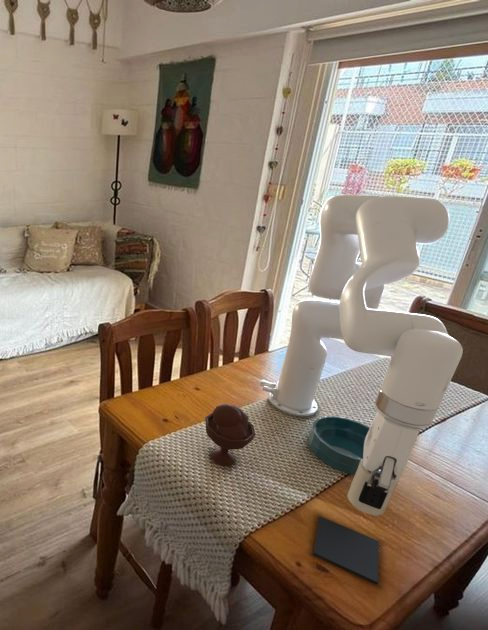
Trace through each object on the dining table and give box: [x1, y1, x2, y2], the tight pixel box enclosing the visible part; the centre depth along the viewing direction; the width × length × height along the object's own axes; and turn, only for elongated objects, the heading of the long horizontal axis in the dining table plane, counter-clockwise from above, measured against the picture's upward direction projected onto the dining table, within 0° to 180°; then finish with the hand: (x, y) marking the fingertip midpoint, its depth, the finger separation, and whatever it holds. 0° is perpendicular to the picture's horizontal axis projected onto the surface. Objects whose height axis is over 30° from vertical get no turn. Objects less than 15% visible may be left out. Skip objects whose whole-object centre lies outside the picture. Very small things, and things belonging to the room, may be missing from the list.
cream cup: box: [346, 459, 400, 516], centre depth 75 cm, size 6×6×8 cm
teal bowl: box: [307, 415, 370, 476], centre depth 105 cm, size 16×16×5 cm
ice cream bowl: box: [204, 403, 256, 467], centre depth 100 cm, size 11×11×15 cm
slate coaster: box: [312, 515, 380, 585], centre depth 82 cm, size 10×10×1 cm
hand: (369, 491), depth 76 cm, fingers closed on cream cup, 5 cm apart
